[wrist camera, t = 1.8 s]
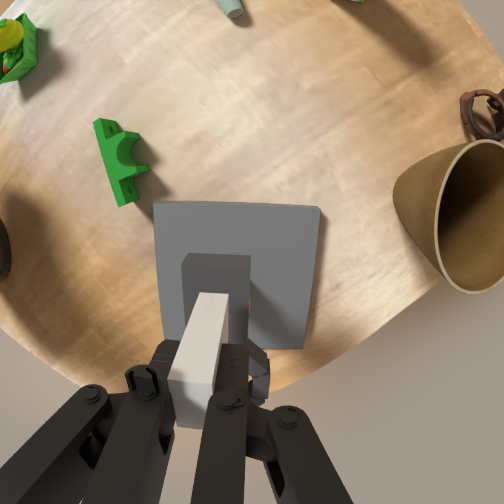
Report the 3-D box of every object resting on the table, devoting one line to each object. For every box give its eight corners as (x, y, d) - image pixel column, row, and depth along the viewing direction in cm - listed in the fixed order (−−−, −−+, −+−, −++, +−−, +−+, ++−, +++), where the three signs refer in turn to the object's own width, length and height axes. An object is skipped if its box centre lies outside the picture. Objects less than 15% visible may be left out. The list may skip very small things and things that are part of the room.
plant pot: (465, 205, 35) (539, 234, 20) (400, 265, 38) (462, 322, 23) (422, 120, 31) (502, 112, 16) (345, 181, 34) (407, 201, 19)
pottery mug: (485, 162, 33) (499, 159, 26) (444, 122, 35) (449, 112, 28) (516, 113, 27) (532, 102, 20) (475, 75, 29) (484, 57, 22)
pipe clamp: (157, 191, 35) (145, 197, 31) (133, 201, 36) (118, 207, 31) (132, 112, 32) (117, 108, 27) (109, 124, 32) (91, 122, 28)
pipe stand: (168, 334, 42) (164, 341, 40) (158, 200, 35) (153, 203, 33) (300, 340, 42) (302, 348, 40) (317, 206, 35) (320, 209, 33)
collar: (180, 395, 23) (175, 411, 21) (163, 251, 18) (153, 262, 16) (264, 400, 23) (265, 417, 21) (277, 256, 18) (280, 268, 16)
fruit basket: (12, 42, 25) (-28, 31, 15) (46, 14, 24) (7, -5, 14) (13, 90, 29) (-33, 85, 18) (49, 62, 28) (2, 47, 17)
